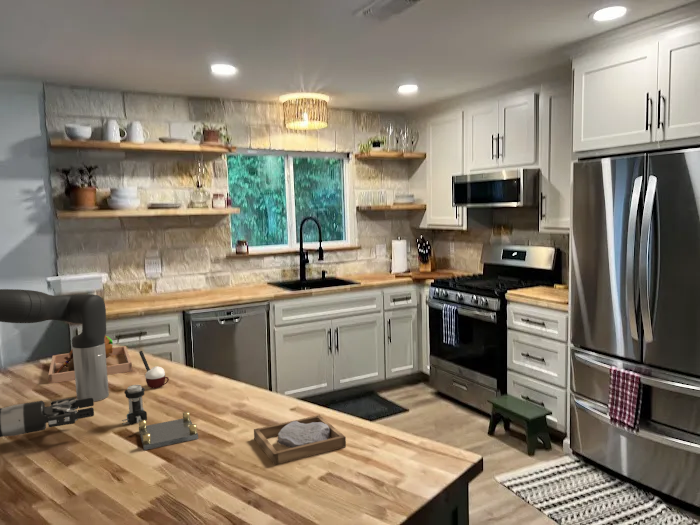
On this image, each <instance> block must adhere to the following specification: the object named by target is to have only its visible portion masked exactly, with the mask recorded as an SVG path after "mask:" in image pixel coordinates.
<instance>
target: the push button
mask: <svg viewBox="0 0 700 525" xmlns="http://www.w3.org/2000/svg"><path fill="white" fill-rule="evenodd" d="M145 391H146V388H145V387H143V386H142V385H140V384H133V385H130V386H128V387H127V389H125V390H124V391H123V393H124V396H125V398H126V399H127V400H128V410H129V411H128V413H127V414H126V418H125V419H122V420H121V421H122V422H123V423H122V425H127V424H128V425H134V424H139V421H141V420H146V421H147V420H148V417H147V411H146V410H145V408H144V406H143V396H145Z"/></svg>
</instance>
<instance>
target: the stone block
mask: <svg viewBox="0 0 700 525" xmlns="http://www.w3.org/2000/svg"><path fill="white" fill-rule="evenodd" d="M291 421H292V422H291V423H289V424H287V425H286V426H284V427H283V428H282V429H281V431H280V432H279V434H278V435H277V443H278V444H279V445H281V446H284V447H288V448H293V447H297V446H302V445H306V444H310V443H314V442H318V441H322V440H327V439H330V438H331V437H330V429H329V427H328V425H327V424H324V423H322V422H312V423H309V424H304V423H299V422H298V421H294V420H291Z"/></svg>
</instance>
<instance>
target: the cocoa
mask: <svg viewBox="0 0 700 525" xmlns="http://www.w3.org/2000/svg"><path fill="white" fill-rule="evenodd" d="M138 353H139V356H140V358H141V361H142V364H143V366H144V368H145V370H146V372H145V374H144V377H145V383H146V385H147V387H148V388H150V389H159V388H162V387H163V386H166V385H167V383H169V381H170V379H169V377H168V376H166V372H165V369H164V368H163V367H161V366H158V365H157V366H153V367H151V369H150V366H149V363H148V361H147V359H146V356H145V354H144V352H143V350H139V352H138ZM166 379H167V380H166ZM165 381H166V382H165Z"/></svg>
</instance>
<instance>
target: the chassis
mask: <svg viewBox="0 0 700 525" xmlns="http://www.w3.org/2000/svg"><path fill="white" fill-rule="evenodd" d="M190 413H191V412H190V411H184V412H182V418H179V419H174V420H169V421H168V420H167V421H163V422H158V423H151V424H148V425H147V420H141V421H139V423H138V432H139V435H140V436H139V437H140V440H141V443H142V447H143V450H144V451H147V450H151V449H152V450H153V449H158V448H162V447H165V446H170V445H175V444H180V443H186V442H189V441H194V440H198V439H199V433H198V427H197V423H193V422H192V420H191V415H190Z"/></svg>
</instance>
